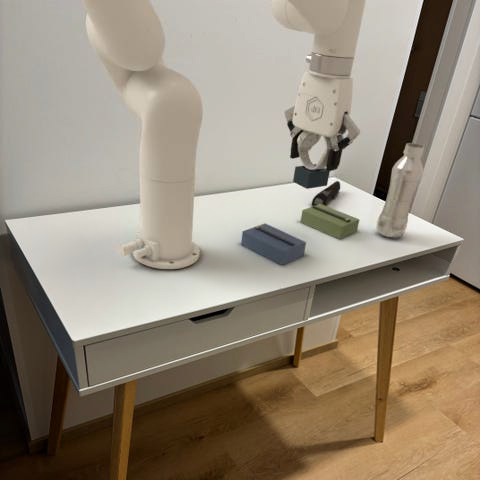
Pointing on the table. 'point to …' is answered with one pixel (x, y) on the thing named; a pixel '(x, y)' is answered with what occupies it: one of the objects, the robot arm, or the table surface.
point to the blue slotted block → (273, 243)
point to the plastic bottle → (401, 192)
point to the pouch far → (329, 221)
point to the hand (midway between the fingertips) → (313, 163)
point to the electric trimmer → (326, 194)
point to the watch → (310, 172)
